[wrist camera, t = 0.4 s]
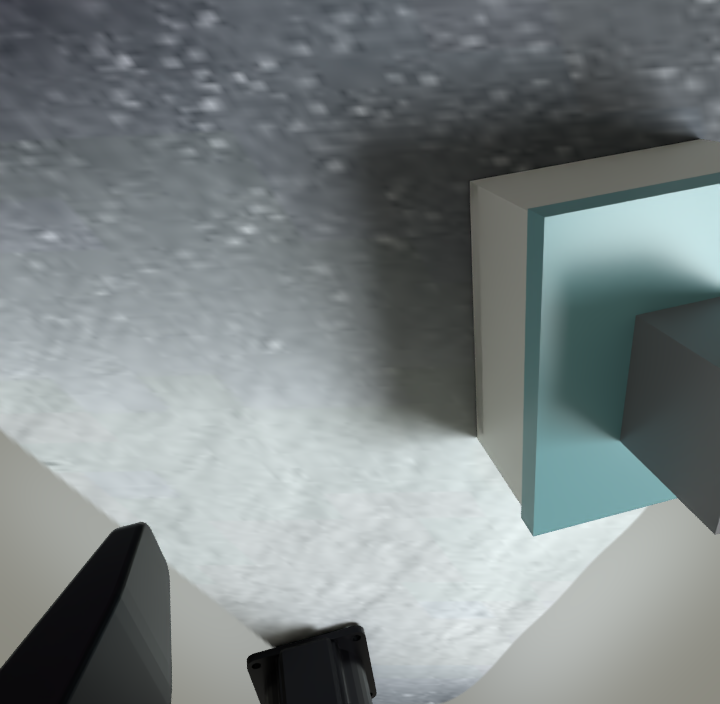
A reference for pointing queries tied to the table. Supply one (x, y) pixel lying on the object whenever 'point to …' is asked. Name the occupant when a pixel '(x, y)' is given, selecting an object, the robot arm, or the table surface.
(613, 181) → the storage box
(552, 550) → the table surface
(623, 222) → the lid
